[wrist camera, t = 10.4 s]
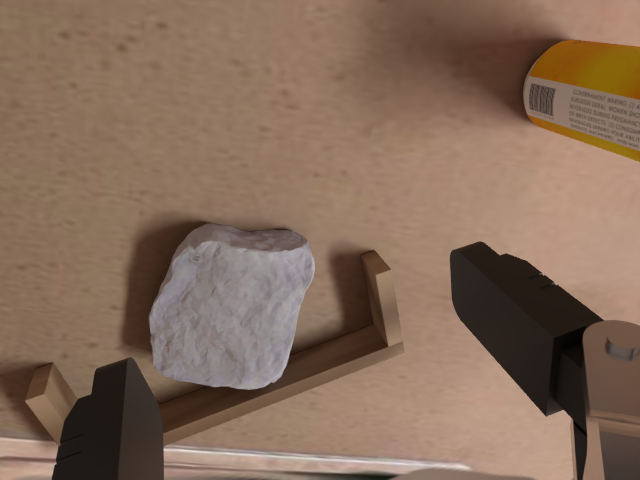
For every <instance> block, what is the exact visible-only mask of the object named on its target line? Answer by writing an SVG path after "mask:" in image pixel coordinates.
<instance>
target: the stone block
mask: <svg viewBox="0 0 640 480" xmlns="http://www.w3.org/2000/svg"><path fill="white" fill-rule="evenodd" d="M314 271H315V263H314V258H313V256H312V253H311V250H310V245H309V243H308V241H307V239H306V238H304V237H303V236H302V235H300V234H298V233H296V232H294V231H291V230H268V231H267V230H260V231H254V232H248V231H242V230H239V229H236V228H233V227H231V226H226V225H219V224H214V223H206V224H205V225H203V226H201V227H198V228H196V229H195V230H193V231H192V232H190V233H189V234H188V235H187V236H186V238H185V239H184V241H183V242H182V243H181V244H180V245H179V246H178V248H177V249H176V252H175V254H174V255H173V258H172V261H171V264H170V267H169V270H168V272H167V274H166V277H165V279H164V281H163V282H162V284H161V286H160V289H159V293H158V295H157V297H156V299H155V300H154V303H153V306H152V309H151V311H150V314H149V327H150V333H151V339H150V343H151V345H152V350H153V353H152V363H153V364H154V367H155V369H156V370H157V371H158V372H159V373H161V374H164V376H166V377H169V378H171V379H174V380H177V381H186V382H191V383H196V384H203V385H208V386H212V387H219V386H229V387H232V388H236V389H248V390H251V389H258V388H262V387H265V386H267V385H268V384H269V383H271V382H272V383H274V382H276V381H277V380H278V379H279V378H280V377H281V375H282V374H283V371H284V369H285V368H286V365H287V362H288V359H289V355H290V350H291V348H292V344H293V340H294V335H295V330H296V324H297V318H298V314H299V310H300V306H301V304H302V301H303V299H304V295H305V292H306V290H307V288H308V287H309V285H310V284H311V282H312V279H313V275H314Z"/></svg>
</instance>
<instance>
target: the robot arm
mask: <svg viewBox="0 0 640 480" xmlns="http://www.w3.org/2000/svg"><path fill="white" fill-rule="evenodd" d="M450 268H451V289H452V301H453V305H454V308H455V311H456V313H457V315H458V317H459V318H460V320H461V321H462V322H463V323H464V324H465V326H466V327H467V328H468V329H469V330H470V331H471V332H472V334H473V335H474V336H475V337H476V338H477V339H478V340H479V341H480V343H481V344H482V345H483V346H484V347H485V348H486V349H487V350H488V352H489V353H490V354H491V355H492V356H493V357H494V358H495V359H496V361H497V362H498V363H499V364H500V365H501V366H502V367H503V369H504V370H505V371H506V372H507V373H508V374H509V375H510V376H511V378H512V379H513V380H514V381H515V382H516V383H517V384H518V385H519V387H520V388H521V389H522V390H523V391H524V392H525V393H526V394H527V396H528V397H529V398H530V399H531V400H532V401H533V402H534V404H535V405H536V406H537V407H538V408H539V409H540V410H541V411H542V413H543V414H544V415H545V416H546V417H547V416H549V415H551V414H554V413H556V412H559V411H561V410H565V411H566V413H567V414H568V415H569V416H570V417H571V425H570V429H571V445H572V460H573V475H574V480H640V326H639V325H636V324H633V323H629V322H625V321H618V320H607V321H604V320H603V319H602V318H600V317H599V316H598V315H596V314H595V313H594V312H592V311H591V310H590V309H588V308H587V307H586V306H585V305H583V304H582V303H581V302H579V301H578V300H577V299H575V298H574V297H573V296H572V295H570V294H569V293H568V292H566V291H565V290H564V289H562V288H561V287H560V286H558V285H555V282H553V281H552V280H551V279H549V278H548V277H547V276H545V275H544V276H543V275H542V272H540V271H539V270H538V269H536V268H535V267H534V266H532V265H531V264H530V263H528V262H527V261H525V260H522V259H520V258H517V257H514V256H512V255H509V254H503V255H499V254H497V253H496V252H495V251H494V250H492V249H491V248H490V247H489V246H487V245H486V244H485V243H483V242H476V243H473V244H470V245H467V246H464V247H461V248H458V249H455V250H453V251H452V252H451V254H450ZM56 462H57V464H56V465H55V467H54V471H53V476H52V480H164V456H163V422H162V416H161V412H160V409H159V406H158V403H157V401H156V399H155V397H154V395H153V393H152V392H151V390H150V388H149V386H148V384H147V382H146V380H145V379H144V377H143V375H142V373H141V371H140V369H139V367H138V365H137V364H136V362H135V361H134V359H133V358H131V357H130V358H127V359H124V360H121V361H118V362H115V363H112V364H109V365H106V366H103V367H100V368H97V369H96V371H95V374H94V381H93V387H92V393H91V395H88V396H85V397H82V398H80V399H78V400H77V401H76V403H75V404H74V406H73V408H72V409H71V411H70V412H69V414H68V416H67V417H66V419H65V420H64V424H63V429H62V434H61V438H60V446H59V448H58V453H57V457H56Z"/></svg>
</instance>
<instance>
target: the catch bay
mask: <svg viewBox="0 0 640 480" xmlns="http://www.w3.org/2000/svg"><path fill="white" fill-rule="evenodd" d="M360 256H361V262H362V267H363V272H364V277H365V282H366V287H367V292H368V297H369V302H370V308H371V313H372V318H373V323H374V324H373V325H370V326H368V327H365V328H362V329H360V330H357V331H354V332H352V333H349V334H346V335H344V336H341V337H338V338H336V339H333V340H330V341H328V342H325V343H322V344H320V345H317V346H314V347H312V348H309V349H306V350H304V351H301V352H298V353H296V354H293V355H290V356H289V359H288V362H287V365H286V368H285V369H284V371H283V374H282V375H281V377H280V378H279V379H278V380H277V381H276V382H274V383H272V382H271V383H269V384H268V385H267V386H265V387H262V388H258V389H251V390H248V389H236V388H232V387H229V386H219V387H212V386H208V387H205V388H202V389H200V390H197V391H194V392H192V393H189V394H186V395H184V396H181V397H178V398H176V399H173V400H170V401H168V402H165V403H162V404H160V405H158V406H159V409H160V412H161V416H162V422H163V446H166V445H168V444H171V443H173V442H176V441H178V440H181V439H184V438H186V437H189V436H191V435H194V434H196V433H199V432H202V431H204V430H207V429H209V428H212V427H214V426H217V425H220V424H222V423H225V422H227V421H230V420H232V419H235V418H238V417H240V416H243V415H245V414H248V413H250V412H253V411H256V410H258V409H261V408H263V407H266V406H268V405H271V404H273V403H276V402H279V401H281V400H284V399H286V398H289V397H291V396H294V395H297V394H299V393H302V392H304V391H307V390H309V389H312V388H315V387H317V386H320V385H322V384H325V383H327V382H330V381H333V380H335V379H338V378H340V377H343V376H345V375H348V374H351V373H353V372H356V371H358V370H361V369H363V368H366V367H369V366H371V365H374V364H376V363H379V362H381V361H384V360H387V359H389V358H392V357H394V356H397V355H399V354H402V353H404V347H403V341H402V334H401V328H400V322H399V316H398V309H397V303H396V297H395V291H394V284H393V278H392V272H391V269H390V268H389V266H388V265H387V264H386V263H385V262H384V261H383V259H382V258H381V257H380V256H379V255H378V254H377V252H376V251H372V252H369V253H366V254H363V255H360ZM77 400H78V399H77V398H76V396H75V395H74V393H73V392H72V390H71V389H70V387H69V386H68V384H67V383H66V381H65V380H64V378H63V377H62V375H61V374H60V372H59V371H58V369H57V368H56V366H55V365H54V363H51V364H48V365H45V366H43V367H40V368H37V369H35V371H34V374H33V377H32V380H31V383H30V386H29V389H28V392H27V395H26V399H25V402H26V403H27V405H28V406H29V407H30V409H31V410H32V411H33V412H34V414H35V415H36V416H37V418H38V419H39V420H40V422H41V423H42V424H43V426H44V427H45V428H46V430H47V431H48V432H49V434H50V435H51V436H52V438H53V439H54V440H55V442H56V443H57V444H58V446H60V438H61V434H62V429H63V424H64V420H65V419H66V417H67V416H68V414H69V412H70V411H71V409H72V408H73V406H74V404H75V403H76V401H77Z"/></svg>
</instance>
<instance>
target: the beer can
mask: <svg viewBox="0 0 640 480" xmlns="http://www.w3.org/2000/svg"><path fill="white" fill-rule="evenodd" d="M523 100H524V105H525V110H526V113H527V115H528V117H529V118H530V120H531V121H532V122H533V123H534V124H535V125H537V126H539V127H541V128H544V129H547V130H549V131H552V132H555V133H558V134H561V135H564V136H567V137H570V138H573V139H575V140H578V141H581V142H584V143H587V144H590V145H593V146H596V147H599V148H601V149H604V150H607V151H610V152H613V153H616V154H619V155H622V156H625V157H627V158H630V159H633V160H636V161H639V162H640V47H636V46H627V45H618V44H609V43H599V42H590V41H581V40H566V41H562V42H560V43H557V44H556V45H554V46H552V47H551V48H549V49H548V50H547V51H546V52H545V53H544V54H543V55H541V56H540V57H539V58H538V59H537V60H536V62H535V63H534V64H533V65H532V67H531V68H530V70H529V72H528V74H527V77H526V79H525V83H524V88H523Z"/></svg>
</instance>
